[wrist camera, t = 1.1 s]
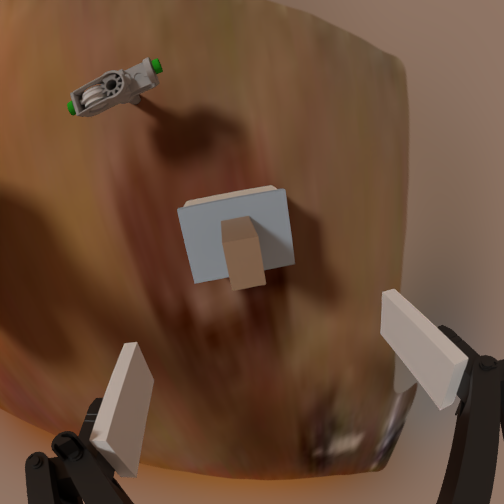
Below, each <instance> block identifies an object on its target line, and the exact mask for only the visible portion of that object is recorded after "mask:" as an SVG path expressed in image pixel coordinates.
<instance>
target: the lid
mask: <svg viewBox="0 0 504 504" xmlns="http://www.w3.org/2000/svg"><path fill="white" fill-rule="evenodd" d="M177 211H178V216H179V220H180V225H181V229H182V233H183V238H184V242H185V246H186V250H187V254H188V258H189V262H190V266H191V270H192V274H193V278H194V282H195V283H200V282H206V281H211V280H216V279H221V278H227V277H229V279H230V283H231V288H232V291H235V290H240V289H245V288H250V287H255V286H260V285H265V284H266V280H265V274H264V270H268V269H273V268H278V267H283V266H288V265H293V264H295V259H294V251H293V243H292V235H291V228H290V220H289V213H288V206H287V198H286V191H285V189H277V190H271V191H265V192H259V193H253V194H248V195H242V196H237V197H232V198H226V199H221V200H216V201H211V202H206V203H201V204H196V205H191V206H186V207H181V208H178V209H177Z"/></svg>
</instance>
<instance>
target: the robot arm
mask: <svg viewBox="0 0 504 504" xmlns="http://www.w3.org/2000/svg"><path fill="white" fill-rule="evenodd" d="M380 334H381V335H382V336H383V337H384V339H385V340H386V341H387V342H388V344H389V345H390V346H391V347H392V349H393V350H394V351H395V352H396V354H397V355H398V356H399V357H400V359H401V360H402V361H403V362H404V364H405V365H406V366H407V367H408V369H409V370H410V371H411V373H412V374H413V375H414V376H415V378H416V379H417V380H418V382H419V383H420V384H421V386H422V387H423V388H424V389H425V391H426V392H427V393H428V395H429V396H430V398H431V399H432V400H433V401H434V403H435V404H436V406H437V407H438V408H439V410H442V409H444V408H446V407H448V406H450V405H452V404H453V403H454V400H455V398H456V395H458V397H459V398H460V399H461V401H460V403H459V406H458V408H457V411H456V413H455V415H457V414H458V415H457V422H456V427H455V433H454V438H453V443H452V448H451V452H450V457H449V461H448V465H447V469H446V473H445V477H444V480H443V484H442V487H441V491H440V494H439V497H438V500H437V503H436V504H489V503H490V498H491V494H492V489H493V482H494V477H495V470H496V463H497V454H498V444H499V431H500V424H501V428H502V433H503V439H504V359H503V360H499V361H497V360H496V359H495V358H493V357H491V356H487V355H484V356H480V355H478V354H477V353H476V352H475V351H474V350H473V349H472V348H471V347H470V346H469V345H468V344H467V343H466V342H465V341H463V340H462V339H461V338H460V337H459V336H457V334H456V333H455V332H454V331H453V330H452V329H450V328H448V327H446V326H443V325H441V326H439V327H436V326H435V325H434V324H432V323H431V322H430V321H429V320H428V319H427V318H426V317H425V316H424V315H423V314H422V313H420V311H418V310H417V309H416V308H415V307H414V306H413V305H412V304H411V303H409V302H408V301H407V300H406V299H405V298H404V297H403V296H402V295H401V294H400V293H398V292H397V291H396V290H395V289H391V290H388V291H384V292H382V313H381V332H380ZM153 384H154V379H153V377H152V374H151V372H150V370H149V368H148V366H147V363H146V361H145V359H144V357H143V354H142V352H141V350H140V347H139V345H138V343H137V342H132V343H124V345H123V348H122V350H121V353H120V355H119V358H118V361H117V363H116V366H115V368H114V371H113V374H112V376H111V379H110V382H109V384H108V387H107V390H106V392H105V395H104V398H96V399H95V400H94V401H93V402H92V404H91V405H90V406H89V409H88V412H87V415H86V417H85V420H84V421H85V422H83V425H82V428H81V431H80V433H79V436H77V435H76V434H75V433H73V432H71V431H65V432H62V433H60V434H58V435H57V436H56V437H55V438H54V439H53V441H52V445H51V447H52V450H53V451H54V453H55V454H56V455H57V456H58V457H54V458H48V457H47V456H46V455H45V454H44V453H42V452H35V453H33V454H31V455H30V456H29V457H28V458H27V460H26V464H25V473H26V486H27V496H28V504H83V501H84V502H85V504H134V503H133V502H132V501H131V500H130V498H129V497H128V496H127V494H126V493H125V492H124V490H123V489H122V488H121V486H120V485H119V483H118V482H117V481H116V480H115V479H114V478H113V476H114V471H116V472H117V473H118V474H119V475H120V477H137V471H138V465H139V459H140V453H141V447H142V441H143V435H144V430H145V424H146V419H147V414H148V409H149V404H150V399H151V394H152V389H153ZM82 499H83V501H82Z"/></svg>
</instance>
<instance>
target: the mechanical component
mask: <svg viewBox="0 0 504 504" xmlns="http://www.w3.org/2000/svg"><path fill="white" fill-rule="evenodd" d="M161 72H163V70H162V67H161V64H160V62H159V60H158V58H157V59H154V60H152V61H151V59H150V58H149V57H148V58H146V59H144V60H143V62H142V63H140V64H138V65H136V66H133V67H131V68H129V69H127V70H125V71H124V70H122V69H121V70H119V71H115V70H111V71H108V72H106V73H104V74H103V75H102V76H101V77H99V78H97V79H95V80H93V81H91V82H89V83H88V84H86V85H84V86H82V87H80V88H79V89H77V90H75V91H74V92H72V93H70V95H71V98H72V101H70V102H69V103H68V104H67V107H68V110H69V112H70V114H71V115H75V114H76V115H77V116H81V117H84V116H86V117H91V116H94V115H97V114H99V113H101V112H103V111H105V110H107V109H109V108H111V107H113V106H115V105H117V104H119V103H122V104H125V103H128V102H129V103H131V104H138V103H139V102H140V101H141V98H140V97H139V95H140V94H141V93H143V92H145V91H147V90H150V89H152V88H154V87H156V86H157V85H158V84H159V80H158V77H157V75H156V74H158V73H161ZM96 84H101V85H97V86H94V87H91V88H89V87H90V86H93V85H96ZM87 88H89V89H88V90H86V89H87ZM84 90H86V91H85V92H84Z"/></svg>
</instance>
